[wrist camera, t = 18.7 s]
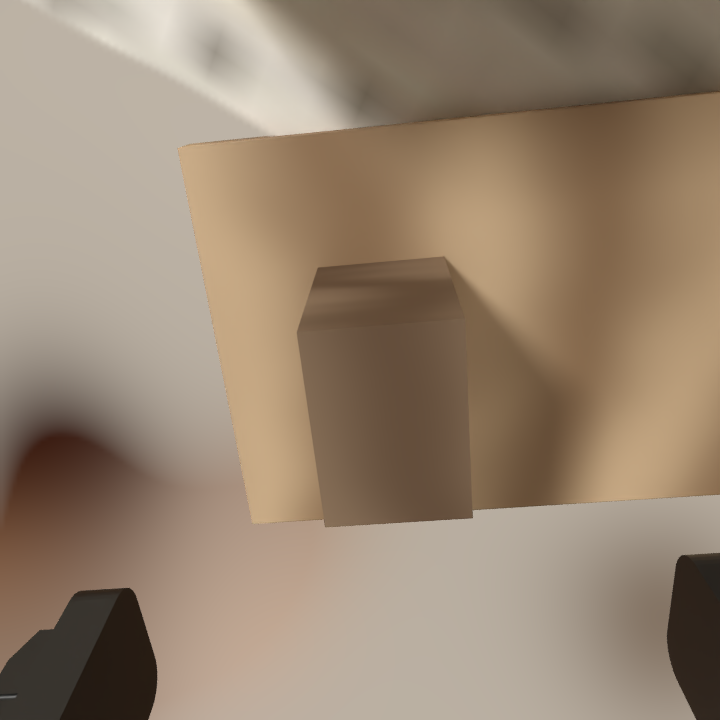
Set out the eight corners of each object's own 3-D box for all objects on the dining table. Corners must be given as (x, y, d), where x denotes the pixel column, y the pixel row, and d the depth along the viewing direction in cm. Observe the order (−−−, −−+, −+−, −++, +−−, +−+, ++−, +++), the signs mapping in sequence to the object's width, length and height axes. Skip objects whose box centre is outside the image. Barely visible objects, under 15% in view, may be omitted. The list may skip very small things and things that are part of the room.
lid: (258, 502, 23) (218, 643, 17) (189, 143, 18) (103, 176, 13) (857, 463, 22) (1025, 602, 16) (950, 65, 17) (1237, 61, 11)
